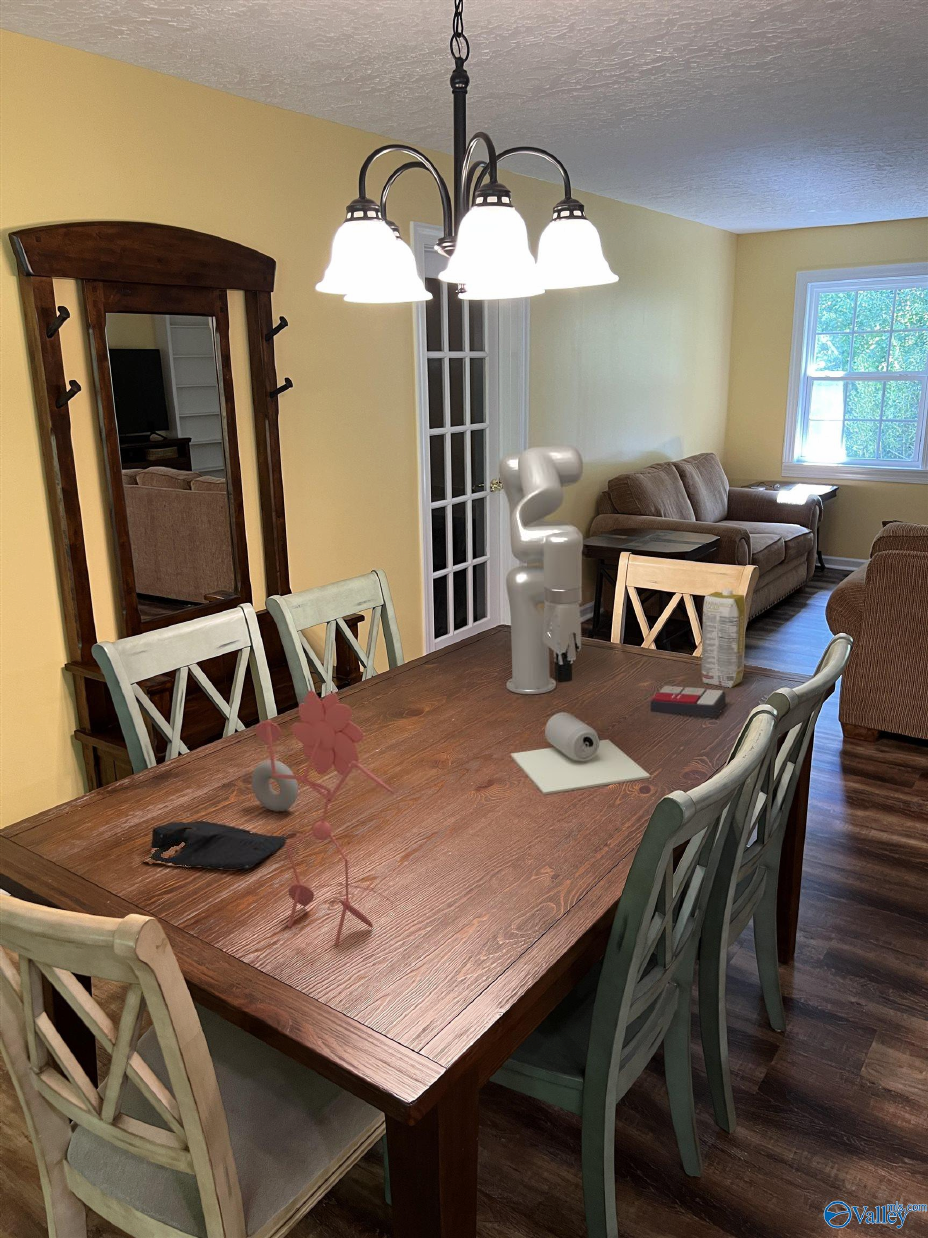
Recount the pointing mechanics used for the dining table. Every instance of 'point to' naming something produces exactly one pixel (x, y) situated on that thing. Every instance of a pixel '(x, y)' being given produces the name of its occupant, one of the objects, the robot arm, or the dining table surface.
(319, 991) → the dining table surface
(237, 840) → the crumpled black cloth
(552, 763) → the mat
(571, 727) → the can
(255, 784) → the donut
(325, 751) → the pink wire flower sculpture
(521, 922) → the dining table surface
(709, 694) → the gray and red box
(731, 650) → the juice carton
